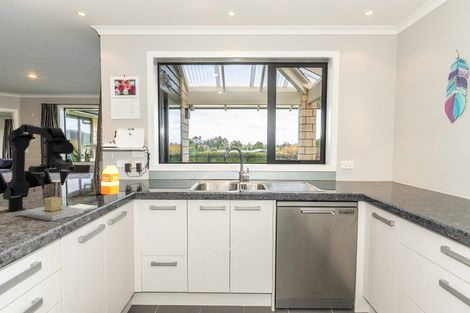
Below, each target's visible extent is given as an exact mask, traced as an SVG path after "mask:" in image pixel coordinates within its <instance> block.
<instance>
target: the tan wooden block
mask: <svg viewBox="0 0 470 313" xmlns="http://www.w3.org/2000/svg"><path fill="white" fill-rule="evenodd" d="M43 201H44V203H43V207H44V211H45V212H55V211H60V210H61V208H62V206H63V205H62V202H63V200H62V197H58V196H52V197H46V198H44V199H43Z"/></svg>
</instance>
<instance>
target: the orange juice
mask: <svg viewBox="0 0 470 313" xmlns="http://www.w3.org/2000/svg"><path fill="white" fill-rule="evenodd" d="M119 180H120V172H119V171H118V169H117V168H116V166H115V165H107V166H105V168H104V169H103V170H102V173H101V182H100V183H101V186H100V187H101V190H100V191H101V195H115V194H119V193H120V191H119V190H120V181H119Z"/></svg>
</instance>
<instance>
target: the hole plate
mask: <svg viewBox="0 0 470 313" xmlns="http://www.w3.org/2000/svg"><path fill="white" fill-rule="evenodd" d="M84 213H85V212H84V209H79V208H72V207H68V206H65V205H62V208H61V210H60V211H55V212H45V211H44V206H40V207H36V208H35V207H34V208H29V209H25V210H20V216H23V217H29V218H34V219H40V220H45V221H51V222H52V221H57V220H60V219H65V218H69V217H73V216H76V215H81V214H84Z"/></svg>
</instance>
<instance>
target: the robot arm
mask: <svg viewBox="0 0 470 313" xmlns="http://www.w3.org/2000/svg"><path fill="white" fill-rule="evenodd" d="M34 135H38V136H41V138H43V139H45V140H44V141H43V142H42V143H43V145H45V155H43V158H44V159H45V164H43V165H30V166H29V167H28V169H27V171H28V173H30V174H31V175H34V177H35V178H36V180H37V181H38V184H39V185H40V187H41V188H45V177H46V173H47V171H59V172H58V173H59V181H60V185H61V186H64V185H65V182H66V180H67V178H68V176H69V174H70V173H72V172H73V171H76V166H75V165H74V164H73V159H69V158H67V159H64V158H63V155H71V154H72V153H73V152H74V151H75V147H74V144H73V143H72V142H71V139H68V138H67V136H66V134H65V133H64V131H63V129H62V127H61V128H60V127H53V126H38V125H33V124H28V123H26V124H25V123H24V124H21V125H20V126H19V127H18V128H16V129H14V130H12V131H10V133H9V135H8V136H7V141H8V146H9V147H10V148H11V150H12V165H11V167H12V170H11V172H12V173H11V179H10V181H9V182H8V183H7V187H6V189H5V191H4V193H3V194H2V199H3V200H7V207H8V208H7V209H4V211H5V212H11V213H14V212H18V211H24V210H27V208H25V207H24V198H28V194H29V193H30V182H29V181H27V180H26V179H25V176H26V175H25V172H26V170H25V169H26V168H25V166H26V150H27V149H28V148H29V146H30V143H31V141H32V140H33V138H34Z"/></svg>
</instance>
